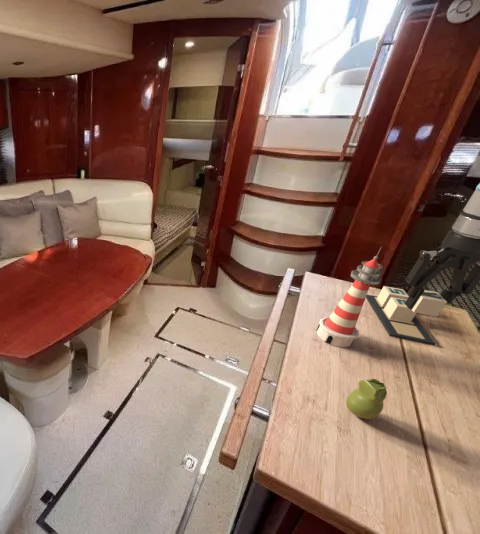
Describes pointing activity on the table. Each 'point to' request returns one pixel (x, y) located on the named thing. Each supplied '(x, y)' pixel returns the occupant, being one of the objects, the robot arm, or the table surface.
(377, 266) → the miniature lighthouse
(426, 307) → the cream letter cube
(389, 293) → the letter S
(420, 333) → the word mat
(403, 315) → the letter E
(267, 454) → the table surface
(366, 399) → the green rounded piece
